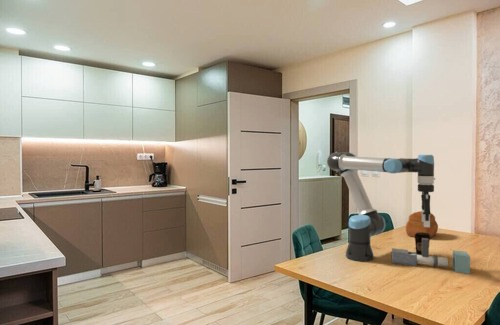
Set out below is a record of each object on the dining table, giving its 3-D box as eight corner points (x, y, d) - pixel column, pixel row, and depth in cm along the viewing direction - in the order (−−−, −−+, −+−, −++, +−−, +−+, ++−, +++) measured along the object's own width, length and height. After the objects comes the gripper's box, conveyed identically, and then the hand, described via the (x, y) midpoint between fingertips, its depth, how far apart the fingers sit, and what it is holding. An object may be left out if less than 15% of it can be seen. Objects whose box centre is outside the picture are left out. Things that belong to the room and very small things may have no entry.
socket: (455, 272, 160) (455, 255, 160) (452, 266, 168) (452, 250, 168) (469, 273, 158) (470, 256, 157) (466, 268, 166) (466, 251, 166)
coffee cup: (432, 258, 182) (433, 235, 182) (417, 257, 183) (417, 234, 183) (427, 253, 190) (427, 231, 190) (412, 253, 192) (412, 231, 192)
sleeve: (391, 263, 173) (391, 251, 173) (392, 260, 179) (392, 248, 179) (416, 266, 168) (417, 254, 168) (416, 262, 174) (416, 250, 174)
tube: (393, 262, 173) (394, 237, 173) (393, 259, 178) (394, 234, 178) (448, 269, 163) (448, 242, 163) (446, 265, 168) (446, 239, 168)
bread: (439, 234, 236) (439, 211, 236) (430, 240, 221) (430, 215, 221) (413, 231, 249) (413, 209, 248) (403, 235, 233) (403, 212, 233)
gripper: (436, 186, 156) (436, 230, 156) (431, 182, 179) (431, 220, 179) (419, 185, 159) (419, 228, 159) (416, 182, 182) (416, 219, 182)
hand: (425, 224), depth 169 cm, fingers open, 13 cm apart
